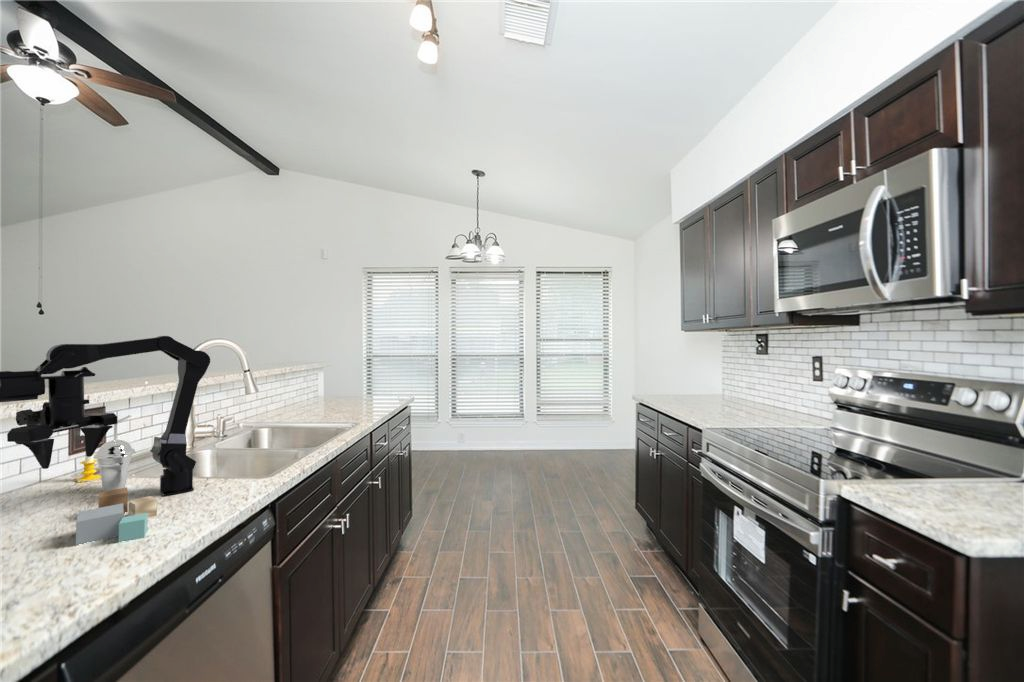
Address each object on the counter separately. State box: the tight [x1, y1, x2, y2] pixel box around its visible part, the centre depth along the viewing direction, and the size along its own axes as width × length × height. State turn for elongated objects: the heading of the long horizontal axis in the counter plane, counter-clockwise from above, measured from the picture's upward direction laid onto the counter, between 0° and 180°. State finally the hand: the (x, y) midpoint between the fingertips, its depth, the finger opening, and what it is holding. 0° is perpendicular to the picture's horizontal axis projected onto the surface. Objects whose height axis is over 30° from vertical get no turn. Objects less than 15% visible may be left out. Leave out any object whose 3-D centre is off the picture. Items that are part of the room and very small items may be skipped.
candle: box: [76, 451, 101, 481], centre depth 123 cm, size 5×5×16 cm
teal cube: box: [118, 513, 149, 543], centre depth 88 cm, size 4×4×4 cm
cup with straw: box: [93, 414, 136, 492], centre depth 115 cm, size 8×9×20 cm
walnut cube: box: [98, 486, 129, 514], centre depth 100 cm, size 5×5×5 cm
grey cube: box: [75, 503, 125, 546], centre depth 88 cm, size 7×7×5 cm
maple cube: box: [127, 495, 158, 519], centre depth 97 cm, size 4×4×4 cm
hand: (68, 462), depth 97 cm, fingers open, 9 cm apart
